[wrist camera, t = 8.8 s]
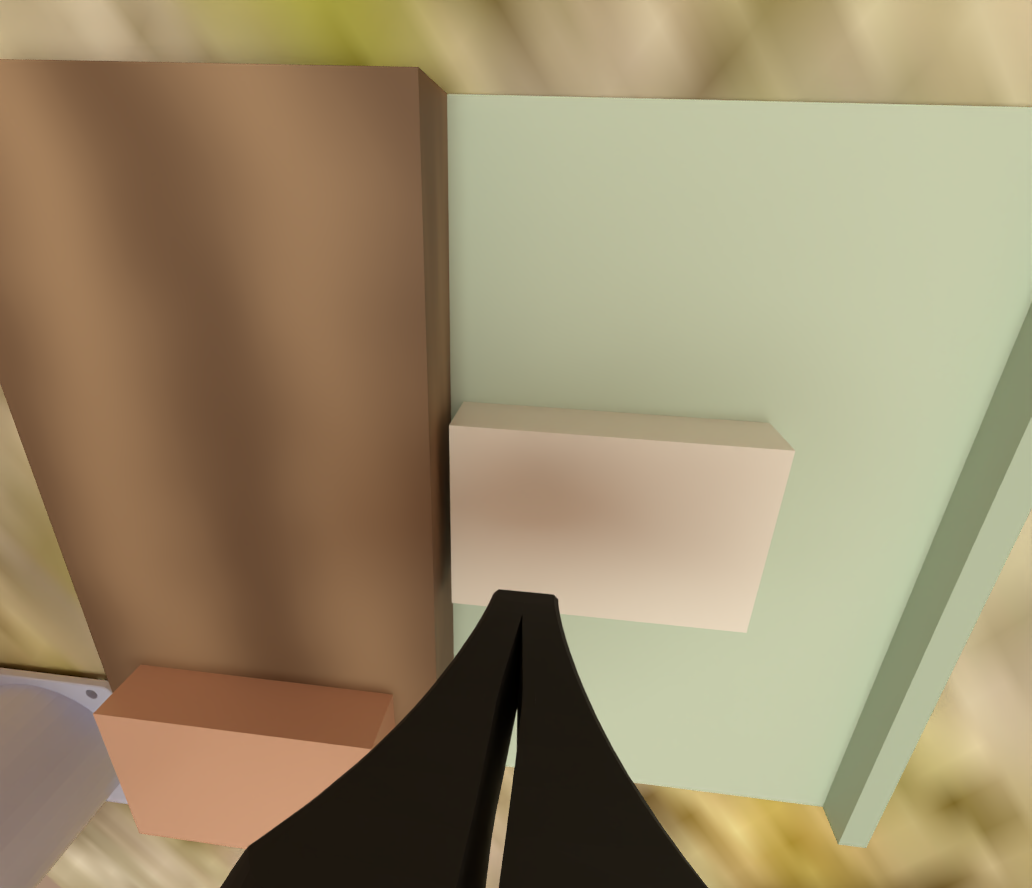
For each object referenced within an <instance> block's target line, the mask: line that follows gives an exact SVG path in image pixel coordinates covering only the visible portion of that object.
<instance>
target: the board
mask: <svg viewBox="0 0 1032 888" xmlns="http://www.w3.org/2000/svg"><path fill="white" fill-rule="evenodd" d="M0 384H1V386H2V389H3V392H4V395H5V397H6V400H7V403H8V406H9V409H10V411H11V414H12V417H13V420H14V422H15V425H16V428H17V431H18V433H19V436H20V439H21V442H22V444H23V447H24V450H25V453H26V455H27V458H28V461H29V464H30V466H31V469H32V472H33V475H34V478H35V480H36V483H37V486H38V489H39V491H40V494H41V497H42V500H43V502H44V505H45V508H46V511H47V513H48V516H49V519H50V522H51V524H52V527H53V530H54V533H55V535H56V538H57V541H58V544H59V547H60V549H61V552H62V555H63V558H64V560H65V563H66V566H67V569H68V571H69V574H70V577H71V580H72V582H73V585H74V588H75V591H76V593H77V596H78V599H79V602H80V604H81V607H82V610H83V613H84V616H85V618H86V621H87V624H88V627H89V629H90V632H91V635H92V638H93V640H94V643H95V646H96V649H97V651H98V654H99V657H100V660H101V662H102V665H103V668H104V671H105V674H106V676H107V679H108V682H109V685H110V687H111V690H112V693H113V692H114V691H115V690H116V689H117V688H118V687H119V686H120V685H121V684H122V683H123V682H124V681H125V680H126V679H127V678H128V677H129V676H130V675H131V674H132V673H133V672H134V671H135V670H136V669H137V668H138V667H139V666H140V665H149V666H157V667H166V668H174V669H183V670H191V671H200V672H208V673H216V674H225V675H233V676H242V677H250V678H259V679H267V680H275V681H284V682H292V683H301V684H309V685H318V686H326V687H334V688H343V689H351V690H360V691H368V692H377V693H385V694H393V704H394V717H395V727H396V726H397V725H398V724H399V723H400V721H401V720H402V719H403V718H404V717H405V716H406V715H407V714H408V713H409V712H410V711H411V710H412V709H413V708H414V707H415V705H416V704H417V703H418V702H419V701H420V700H421V699H422V698H423V696H424V695H425V694H426V693H427V692H428V691H429V689H430V688H431V687H432V686H433V685H434V683H435V682H436V681H437V679H438V678H439V677H440V676H441V674H442V673H443V672H444V670H445V669H446V668H447V667H448V665H449V664H450V663H451V662H452V660H453V659H454V634H453V603H452V589H451V523H450V457H449V425H450V423H451V381H450V297H449V213H448V128H447V93H446V92H445V91H443V90H442V89H441V88H440V87H439V86H438V85H437V84H436V83H435V82H434V81H433V80H431V79H430V78H429V77H428V76H427V75H426V74H425V73H424V72H423V71H422V70H421V69H420V68H418V67H387V66H334V65H281V64H227V63H174V62H121V61H67V60H14V59H0Z"/></svg>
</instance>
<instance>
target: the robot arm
mask: <svg viewBox="0 0 1032 888" xmlns="http://www.w3.org/2000/svg"><path fill="white" fill-rule="evenodd" d="M111 694H112V690H111V687H110V685H109V682H108V681H106V680H98V679H90V678H82V677H73V676H65V675H57V674H49V673H41V672H32V671H24V670H16V669H8V668H0V888H36V887H37V885H38V884H39V883H40V882H41V881H42V879H43V878H44V877H45V876H46V874H47V873H48V872H49V871H50V869H51V868H52V867H53V866H54V865H55V863H56V862H57V861H58V860H59V858H60V857H61V856H62V855H63V853H64V852H65V851H66V850H67V848H68V847H69V846H70V845H71V843H72V842H73V841H74V840H75V838H76V837H77V836H78V835H79V833H80V832H81V831H82V830H83V829H84V827H85V826H86V825H87V824H88V822H89V821H90V820H91V819H92V817H93V816H94V815H95V814H96V812H97V811H98V810H99V809H100V807H101V806H102V805H103V804H104V802H105V801H110V802H117V803H124V804H128V803H127V800H126V797H125V795H124V792H123V790H122V787H121V785H120V782H119V779H118V777H117V774H116V772H115V769H114V767H113V764H112V762H111V759H110V756H109V754H108V751H107V749H106V746H105V744H104V741H103V739H102V736H101V733H100V731H99V728H98V726H97V723H96V721H95V718H94V716H93V713H94V712H95V711H96V710H97V709H98V708H99V707H100V706H101V705H102V704H103V703H104V702H105V701H106V700H107V699H108V698H109V696H110V695H111ZM516 712H517V752H516V760H515V768H514V776H513V784H512V792H511V800H510V808H509V816H508V823H507V831H506V839H505V846H504V853H503V861H502V868H501V876H500V883H499V888H708V887H707V886H706V885H705V883H704V882H703V881H702V880H701V878H700V877H699V876H698V874H697V873H696V872H695V870H694V869H693V868H692V867H691V865H690V864H689V863H688V861H687V860H686V859H685V857H684V856H683V855H682V853H681V852H680V851H679V849H678V848H677V846H676V845H675V844H674V842H673V841H672V839H671V838H670V837H669V835H668V834H667V833H666V831H665V830H664V828H663V827H662V826H661V824H660V823H659V821H658V820H657V818H656V817H655V815H654V814H653V812H652V810H651V809H650V807H649V806H648V804H647V803H646V801H645V800H644V798H643V797H642V795H641V794H640V792H639V790H638V789H637V787H636V786H635V784H634V783H633V781H632V780H631V778H630V777H629V775H628V773H627V771H626V770H625V768H624V766H623V765H622V763H621V761H620V759H619V758H618V756H617V754H616V752H615V751H614V749H613V747H612V745H611V743H610V741H609V739H608V738H607V736H606V734H605V732H604V730H603V728H602V726H601V724H600V722H599V720H598V718H597V716H596V714H595V712H594V709H593V707H592V705H591V703H590V701H589V698H588V696H587V694H586V692H585V689H584V687H583V684H582V682H581V679H580V677H579V675H578V672H577V669H576V666H575V664H574V661H573V658H572V655H571V653H570V650H569V647H568V643H567V640H566V637H565V633H564V630H563V626H562V622H561V617H560V612H559V604H558V599H557V598H556V596H555V595H554V594H543V593H533V592H523V591H512V590H502V589H498V590H497V591H496V592H494V593H493V595H492V598H491V600H490V602H489V604H488V606H487V608H486V610H485V611H484V613H483V615H482V617H481V618H480V620H479V622H478V623H477V625H476V627H475V628H474V630H473V631H472V633H471V634H470V636H469V637H468V639H467V640H466V642H465V643H464V645H463V646H462V648H461V649H460V650H459V652H458V653H457V655H456V656H455V658H454V659H453V660H452V662H451V663H450V664H449V665H448V667H447V668H446V669H445V670H444V672H443V673H442V674H441V676H440V677H439V678H438V679H437V681H436V682H435V683H434V685H433V686H432V687H431V688H430V689H429V691H428V692H427V693H426V694H425V695H424V696H423V698H422V699H421V700H420V701H419V702H418V703H417V704H416V705H415V707H414V708H413V709H412V710H411V711H410V712H409V713H408V714H407V715H406V716H405V717H404V718H403V719H402V720H401V721H400V723H399V724H398V725H397V726H396V727H395V728H393V729H392V730H391V731H390V732H389V733H388V734H387V735H386V736H385V737H384V738H383V739H382V740H381V741H380V742H379V743H378V744H377V745H376V746H375V747H374V748H373V749H372V750H371V751H370V752H369V753H368V754H366V755H365V756H364V757H363V758H362V759H361V760H360V761H359V762H358V763H356V764H355V765H354V766H353V767H352V768H350V769H349V770H348V771H347V772H346V773H344V774H343V775H342V776H341V777H340V778H338V779H337V780H336V781H335V782H333V783H332V784H331V785H330V786H329V787H327V788H326V789H325V790H324V791H323V792H321V793H320V794H319V795H318V796H317V797H315V798H314V799H313V800H311V801H310V802H309V803H308V804H306V805H305V806H304V807H302V808H301V809H299V810H298V811H297V812H295V813H294V814H292V815H291V816H290V817H288V818H287V819H285V820H284V821H283V822H281V823H280V824H279V825H277V826H276V827H274V828H273V829H272V830H270V831H269V832H267V833H266V834H265V835H263V836H262V837H260V838H259V839H258V840H256V841H255V842H253V843H252V844H250V845H249V846H248V847H247V849H246V850H245V851H244V853H243V854H242V856H241V857H240V859H239V860H238V862H237V863H236V865H235V866H234V868H233V869H232V870H231V872H230V873H229V875H228V877H227V878H226V880H225V881H224V883H223V884H222V886H221V887H220V888H485V887H486V879H487V871H488V862H489V854H490V846H491V838H492V832H493V826H494V820H495V814H496V809H497V804H498V799H499V795H500V790H501V785H502V780H503V775H504V770H505V765H506V761H507V756H508V751H509V746H510V741H511V736H512V731H513V726H514V721H515V717H516Z"/></svg>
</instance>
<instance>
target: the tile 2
mask: <svg viewBox="0 0 1032 888" xmlns="http://www.w3.org/2000/svg"><path fill="white" fill-rule="evenodd" d="M794 454H795V450H794V449H793V448H792V447H791V445H790V444H789V443H788V442H787V441H786V440H785V439H784V438H783V437H782V436H781V435H780V433H779V432H778V431H777V430H776V429H775V428H774V427H773V426H772V425H771V424H770V423H765V422H750V421H736V420H722V419H707V418H693V417H679V416H664V415H650V414H636V413H621V412H607V411H593V410H578V409H564V408H550V407H535V406H521V405H507V404H492V403H478V402H463V403H462V405H461V407H460V408H459V410H458V411H457V413H456V415H455V416H454V418H453V420H452V421H451V423H450V425H449V457H450V523H451V589H452V603H458V604H468V605H478V606H488V604H489V602H490V600H491V598H492V595H493V593H494V592H496V591H497V590H498V589H502V590H512V591H523V592H533V593H543V594H554V595H555V596H556V598H557V599H558V604H559V612H560V614H566V615H576V616H586V617H596V618H606V619H615V620H625V621H635V622H645V623H655V624H665V625H674V626H684V627H694V628H704V629H714V630H723V631H733V632H743V633H747V629H748V625H749V622H750V618H751V614H752V610H753V607H754V603H755V599H756V596H757V592H758V588H759V584H760V581H761V577H762V573H763V570H764V566H765V562H766V558H767V555H768V551H769V547H770V544H771V540H772V536H773V532H774V529H775V525H776V521H777V518H778V514H779V510H780V506H781V503H782V499H783V495H784V491H785V488H786V484H787V480H788V477H789V473H790V469H791V465H792V462H793V458H794Z"/></svg>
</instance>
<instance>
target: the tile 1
mask: <svg viewBox="0 0 1032 888" xmlns="http://www.w3.org/2000/svg"><path fill="white" fill-rule="evenodd" d="M93 716H94V718H95V721H96V723H97V726H98V728H99V731H100V733H101V736H102V739H103V741H104V744H105V746H106V749H107V751H108V754H109V756H110V759H111V762H112V764H113V767H114V769H115V772H116V774H117V777H118V779H119V782H120V785H121V787H122V790H123V792H124V795H125V797H126V800H127V803H128V805H129V808H130V810H131V813H132V815H133V818H134V820H135V823H136V826H137V828H138V831H139V833H141V834H148V835H155V836H162V837H168V838H175V839H182V840H189V841H196V842H203V843H209V844H216V845H223V846H230V847H237V848H243V849H247V847H248V846H249V845H250V844H252V843H253V842H255V841H256V840H258V839H259V838H260V837H262V836H263V835H265V834H266V833H267V832H269V831H270V830H272V829H273V828H274V827H276V826H277V825H279V824H280V823H281V822H283V821H284V820H285V819H287V818H288V817H290V816H291V815H292V814H294V813H295V812H297V811H298V810H299V809H301V808H302V807H304V806H305V805H306V804H308V803H309V802H310V801H311V800H313V799H314V798H315V797H317V796H318V795H319V794H320V793H321V792H323V791H324V790H325V789H326V788H327V787H329V786H330V785H331V784H332V783H333V782H335V781H336V780H337V779H338V778H340V777H341V776H342V775H343V774H344V773H346V772H347V771H348V770H349V769H350V768H352V767H353V766H354V765H355V764H356V763H358V762H359V761H360V760H361V759H362V758H363V757H364V756H365V755H366V754H368V753H369V752H370V751H371V750H372V749H373V748H374V747H375V746H376V745H377V744H378V743H379V742H380V741H381V740H382V739H383V738H384V737H385V736H386V735H387V734H388V733H389V732H390V731H391V730H392V729H393V728H395V717H394V704H393V694H385V693H377V692H368V691H360V690H351V689H343V688H334V687H326V686H318V685H309V684H301V683H292V682H284V681H275V680H267V679H259V678H250V677H242V676H233V675H225V674H216V673H208V672H200V671H191V670H183V669H174V668H166V667H157V666H149V665H140V666H139V667H138V668H137V669H136V670H135V671H134V672H133V673H132V674H131V675H130V676H129V677H128V678H127V679H126V680H125V681H124V682H123V683H122V684H121V685H120V686H119V687H118V688H117V689H116V690H115V691H114V692H113V693H112V694H111V695H110V696H109V698H108V699H107V700H106V701H105V702H104V703H103V704H102V705H101V706H100V707H99V708H98V709H97V710H96V711H95V712H94V713H93Z"/></svg>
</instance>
